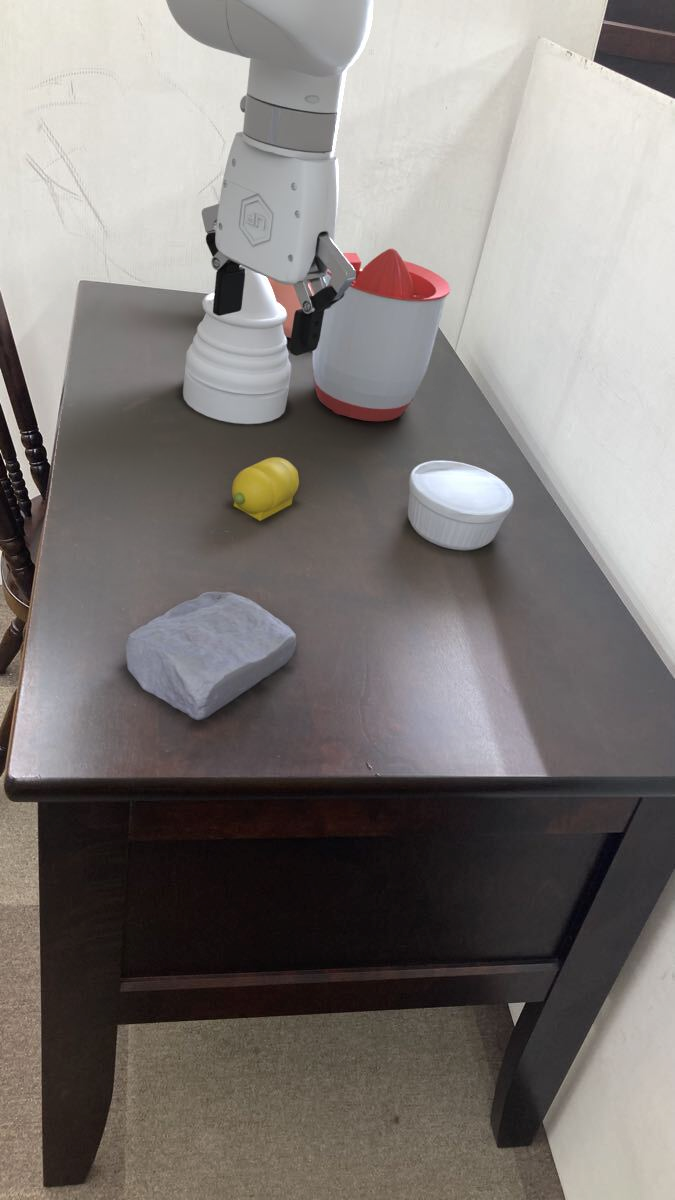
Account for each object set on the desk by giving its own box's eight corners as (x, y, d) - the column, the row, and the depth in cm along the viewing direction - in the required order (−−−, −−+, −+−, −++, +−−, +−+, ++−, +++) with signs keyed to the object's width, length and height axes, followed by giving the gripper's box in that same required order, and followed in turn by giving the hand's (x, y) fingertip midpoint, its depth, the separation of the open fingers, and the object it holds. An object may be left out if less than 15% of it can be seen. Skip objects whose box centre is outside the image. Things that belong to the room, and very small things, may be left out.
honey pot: (218, 368, 118) (233, 227, 107) (303, 400, 115) (327, 259, 104) (162, 398, 108) (171, 246, 98) (253, 434, 105) (273, 282, 94)
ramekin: (443, 490, 102) (455, 450, 99) (520, 539, 97) (535, 497, 94) (378, 516, 95) (388, 473, 92) (456, 570, 90) (470, 526, 87)
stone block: (112, 683, 71) (204, 732, 66) (107, 631, 69) (201, 677, 63) (215, 626, 79) (304, 665, 74) (214, 578, 77) (305, 615, 72)
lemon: (251, 531, 89) (257, 489, 86) (215, 510, 90) (219, 469, 88) (309, 499, 95) (316, 460, 93) (274, 481, 97) (281, 441, 94)
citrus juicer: (404, 379, 126) (439, 234, 114) (428, 437, 113) (470, 279, 101) (295, 366, 123) (319, 215, 111) (306, 424, 110) (335, 259, 98)
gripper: (182, 99, 73) (169, 304, 83) (342, 160, 66) (306, 376, 76) (246, 100, 78) (227, 293, 88) (402, 155, 71) (361, 359, 81)
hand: (264, 331), depth 82 cm, fingers open, 9 cm apart
